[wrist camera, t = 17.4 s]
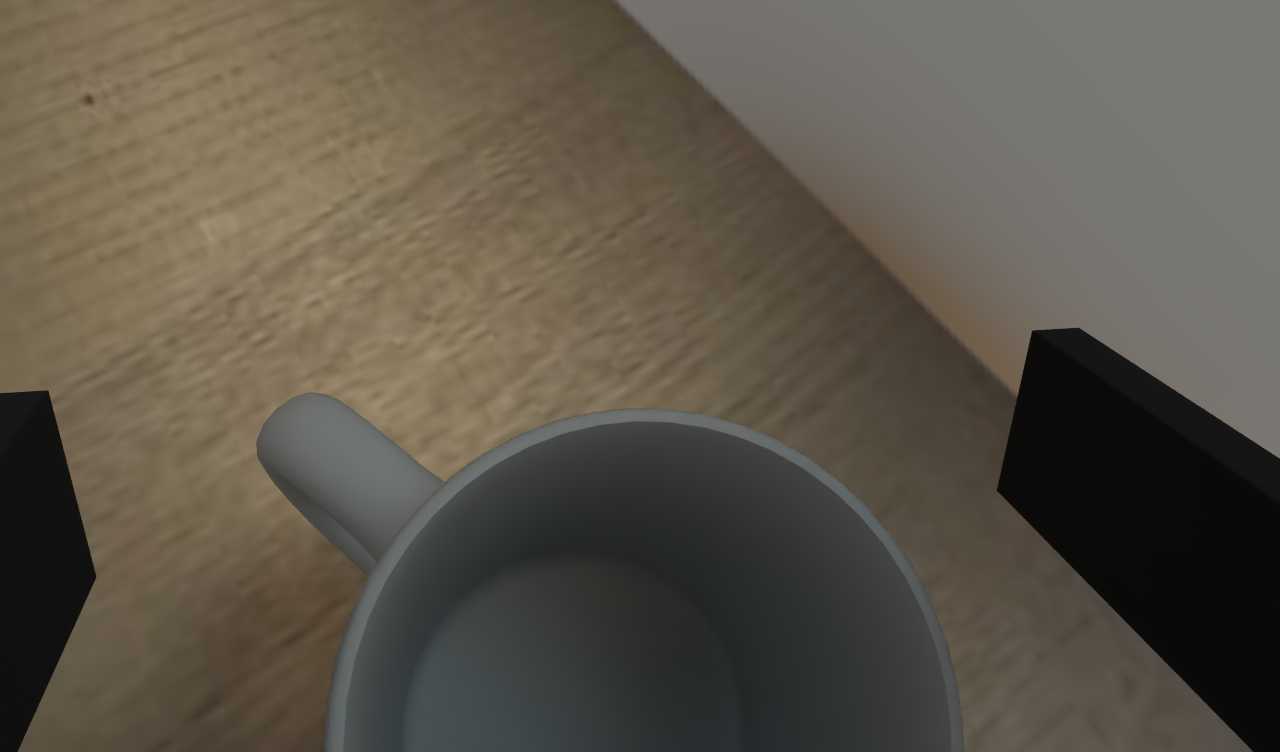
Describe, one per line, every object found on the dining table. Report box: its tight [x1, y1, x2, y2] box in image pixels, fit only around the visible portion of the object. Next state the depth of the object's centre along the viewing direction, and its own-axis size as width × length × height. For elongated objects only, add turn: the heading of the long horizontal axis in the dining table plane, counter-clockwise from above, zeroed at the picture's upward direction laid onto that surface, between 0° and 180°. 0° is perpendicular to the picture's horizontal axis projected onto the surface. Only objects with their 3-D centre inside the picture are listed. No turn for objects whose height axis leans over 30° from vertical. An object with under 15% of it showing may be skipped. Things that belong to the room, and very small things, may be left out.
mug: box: [256, 393, 963, 752], centre depth 18 cm, size 12×8×11 cm
